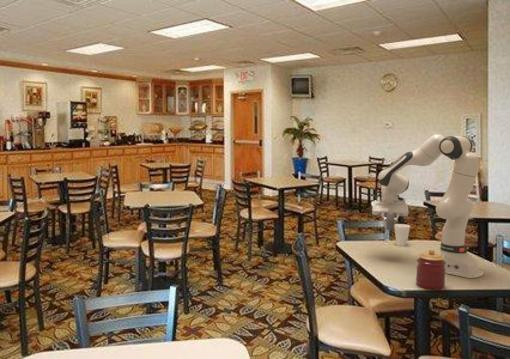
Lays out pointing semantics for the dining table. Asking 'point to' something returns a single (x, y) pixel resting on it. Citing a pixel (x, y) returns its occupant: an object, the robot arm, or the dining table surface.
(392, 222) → the connector casing
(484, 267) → the dining table surface
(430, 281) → the canister
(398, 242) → the foam cup
